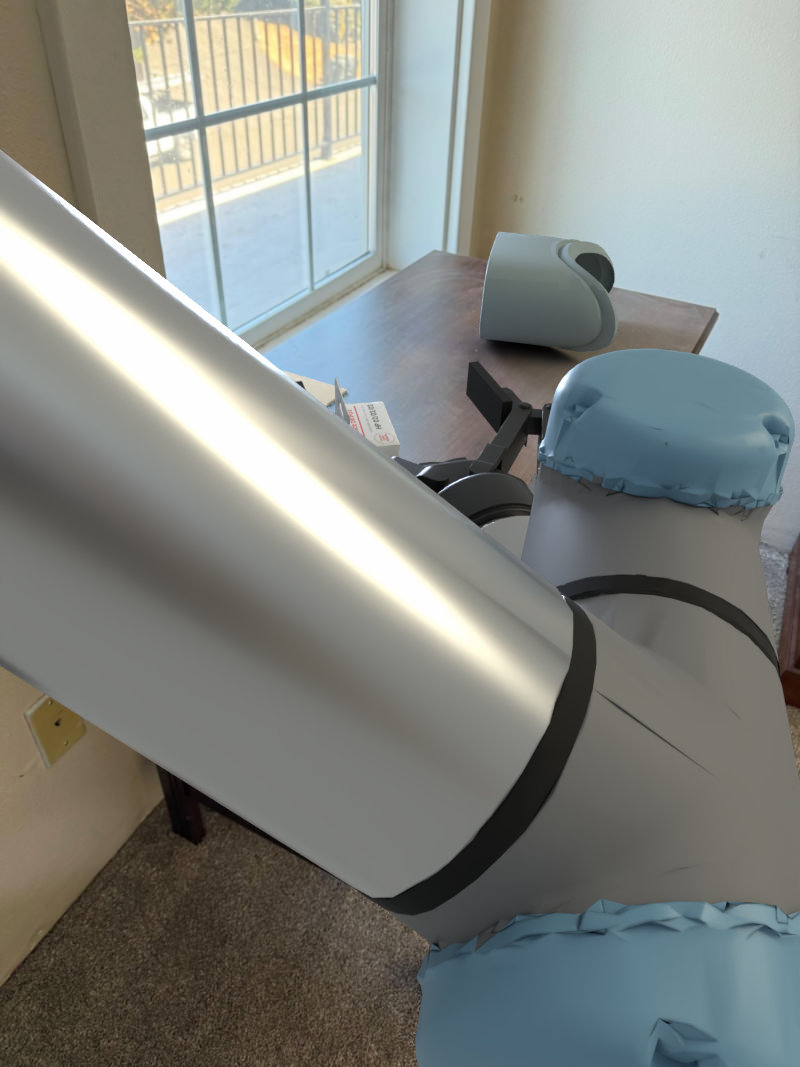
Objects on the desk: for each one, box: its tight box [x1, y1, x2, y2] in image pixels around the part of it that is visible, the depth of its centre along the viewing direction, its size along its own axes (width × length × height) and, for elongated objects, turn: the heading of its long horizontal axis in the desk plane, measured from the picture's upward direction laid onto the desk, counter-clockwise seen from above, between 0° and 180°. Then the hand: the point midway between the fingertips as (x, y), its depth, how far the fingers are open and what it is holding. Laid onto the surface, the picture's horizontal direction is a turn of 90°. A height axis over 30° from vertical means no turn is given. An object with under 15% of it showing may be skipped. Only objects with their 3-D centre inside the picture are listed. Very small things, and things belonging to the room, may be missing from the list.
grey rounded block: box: [478, 231, 619, 353], centre depth 111 cm, size 22×19×13 cm
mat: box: [282, 370, 348, 407], centre depth 93 cm, size 18×10×1 cm, turn 151°
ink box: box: [334, 376, 401, 458], centre depth 71 cm, size 8×5×15 cm, turn 13°
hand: (387, 387), depth 56 cm, fingers open, 13 cm apart
